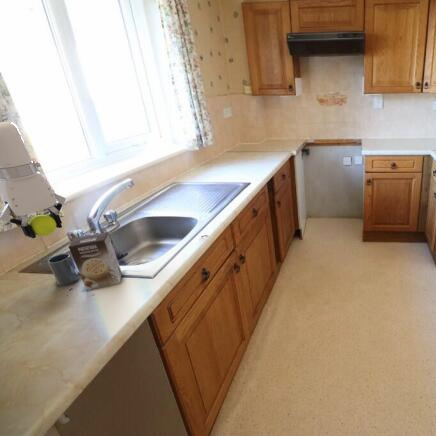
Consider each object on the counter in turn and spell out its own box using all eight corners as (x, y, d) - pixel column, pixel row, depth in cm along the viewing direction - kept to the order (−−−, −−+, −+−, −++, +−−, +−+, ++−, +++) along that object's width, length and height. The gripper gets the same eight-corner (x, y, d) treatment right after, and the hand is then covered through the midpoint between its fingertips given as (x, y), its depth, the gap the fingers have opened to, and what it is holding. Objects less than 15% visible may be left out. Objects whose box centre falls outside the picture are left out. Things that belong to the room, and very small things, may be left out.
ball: (40, 241, 89) (31, 221, 87) (29, 237, 92) (19, 218, 89) (64, 231, 94) (56, 213, 92) (52, 228, 96) (44, 210, 94)
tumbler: (65, 289, 100) (54, 264, 96) (55, 285, 102) (43, 261, 98) (84, 279, 104) (73, 255, 101) (73, 275, 106) (63, 252, 103)
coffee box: (86, 293, 97) (66, 247, 91) (91, 281, 103) (72, 237, 96) (120, 285, 101) (103, 239, 94) (123, 274, 106) (107, 231, 99)
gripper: (46, 161, 93) (70, 218, 101) (-33, 179, 79) (1, 243, 87) (61, 163, 90) (84, 221, 98) (-19, 182, 76) (16, 248, 84)
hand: (45, 231), depth 92 cm, fingers closed on ball, 5 cm apart
